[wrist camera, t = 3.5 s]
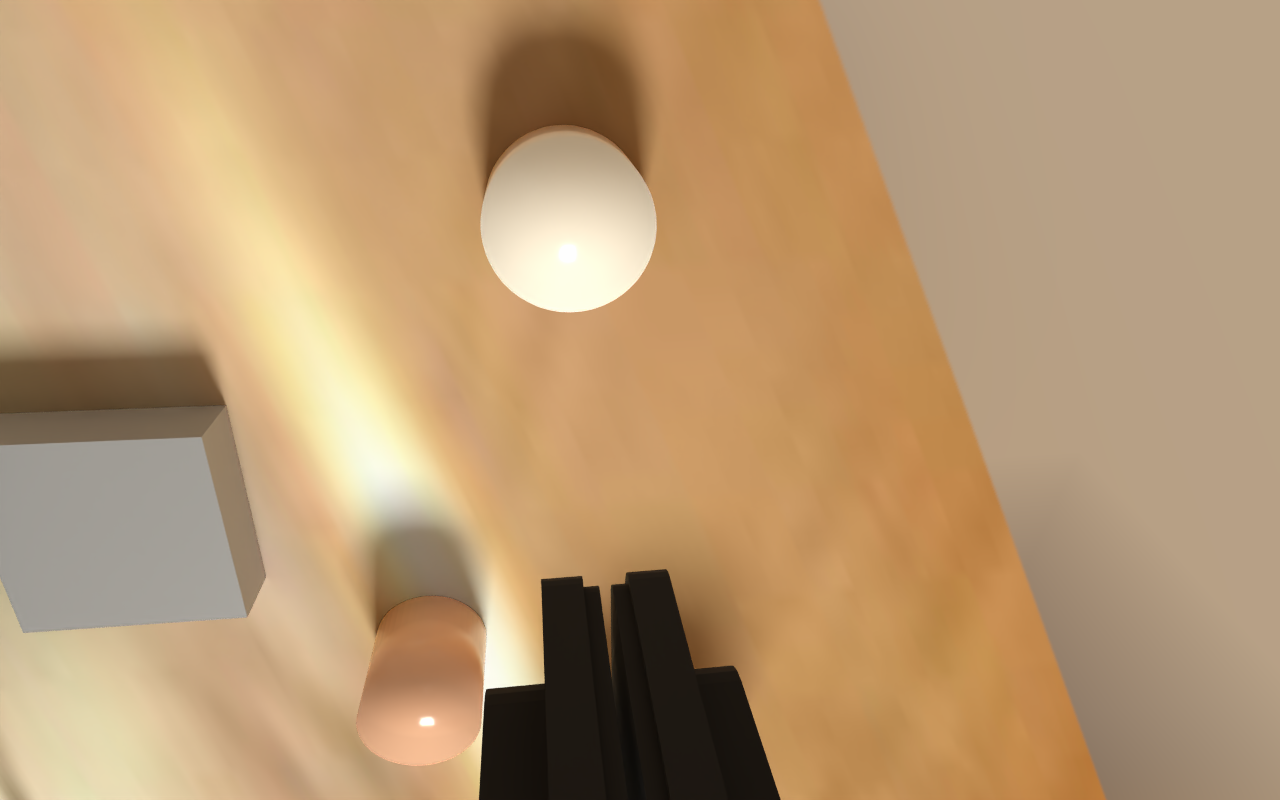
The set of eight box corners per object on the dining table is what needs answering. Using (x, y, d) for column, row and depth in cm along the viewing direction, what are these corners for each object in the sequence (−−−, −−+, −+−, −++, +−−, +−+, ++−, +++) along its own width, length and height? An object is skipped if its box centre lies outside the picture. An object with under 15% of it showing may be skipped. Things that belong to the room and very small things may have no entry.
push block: (-4, 410, 36) (-55, 447, 32) (228, 401, 37) (201, 437, 34) (62, 584, 40) (23, 632, 37) (268, 572, 41) (247, 617, 38)
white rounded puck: (479, 123, 33) (474, 136, 29) (645, 125, 34) (659, 137, 30) (490, 284, 36) (486, 314, 32) (641, 281, 37) (654, 310, 33)
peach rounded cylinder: (370, 599, 42) (348, 683, 37) (482, 591, 43) (476, 672, 38) (383, 681, 45) (364, 771, 40) (489, 673, 46) (485, 759, 40)
